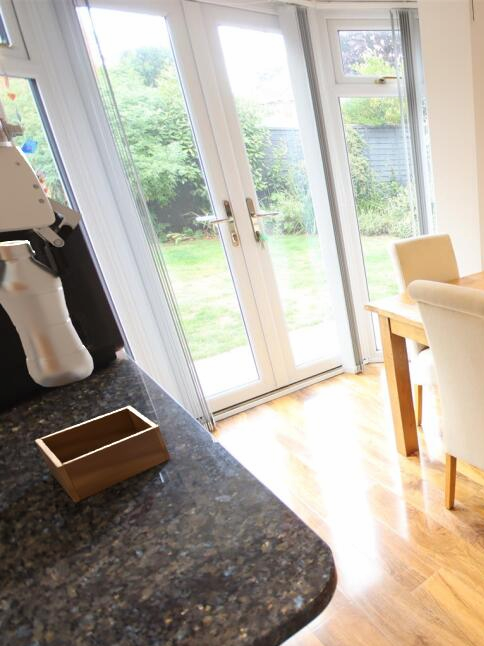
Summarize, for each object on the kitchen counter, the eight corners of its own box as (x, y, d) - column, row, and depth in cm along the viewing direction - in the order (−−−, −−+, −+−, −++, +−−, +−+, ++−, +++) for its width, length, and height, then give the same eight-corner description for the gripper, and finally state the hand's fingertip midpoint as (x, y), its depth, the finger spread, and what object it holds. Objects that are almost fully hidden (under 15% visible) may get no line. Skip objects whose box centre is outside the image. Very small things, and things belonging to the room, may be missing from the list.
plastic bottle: (36, 382, 67) (-29, 243, 59) (97, 367, 71) (43, 236, 63) (37, 397, 62) (-33, 250, 55) (101, 380, 67) (44, 242, 59)
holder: (51, 473, 70) (34, 440, 67) (142, 436, 78) (129, 405, 76) (75, 503, 63) (57, 467, 61) (171, 458, 72) (158, 426, 70)
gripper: (51, 135, 63) (98, 265, 70) (-163, 133, 50) (-79, 293, 56) (67, 134, 59) (115, 271, 65) (-161, 130, 46) (-70, 303, 52)
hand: (25, 280), depth 61 cm, fingers closed on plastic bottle, 6 cm apart
